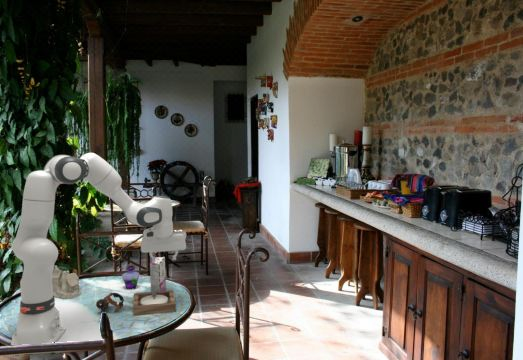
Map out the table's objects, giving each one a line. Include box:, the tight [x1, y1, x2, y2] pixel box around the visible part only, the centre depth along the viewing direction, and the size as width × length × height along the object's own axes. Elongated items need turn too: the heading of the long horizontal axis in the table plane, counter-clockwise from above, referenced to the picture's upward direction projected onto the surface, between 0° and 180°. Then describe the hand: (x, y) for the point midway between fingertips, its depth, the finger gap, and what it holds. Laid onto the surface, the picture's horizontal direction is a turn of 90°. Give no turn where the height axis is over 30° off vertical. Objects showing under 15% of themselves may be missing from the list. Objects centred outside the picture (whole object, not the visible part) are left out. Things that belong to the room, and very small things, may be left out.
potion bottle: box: [121, 263, 141, 290], centre depth 229 cm, size 9×9×12 cm
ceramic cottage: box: [52, 265, 83, 300], centre depth 222 cm, size 16×16×15 cm
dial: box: [141, 285, 168, 305], centre depth 205 cm, size 12×12×7 cm
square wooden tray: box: [132, 289, 177, 316], centre depth 205 cm, size 18×18×4 cm
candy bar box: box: [149, 256, 167, 292], centre depth 221 cm, size 11×5×16 cm, turn 179°
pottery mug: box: [95, 292, 125, 313], centre depth 200 cm, size 12×10×8 cm
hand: (164, 260), depth 209 cm, fingers open, 8 cm apart
